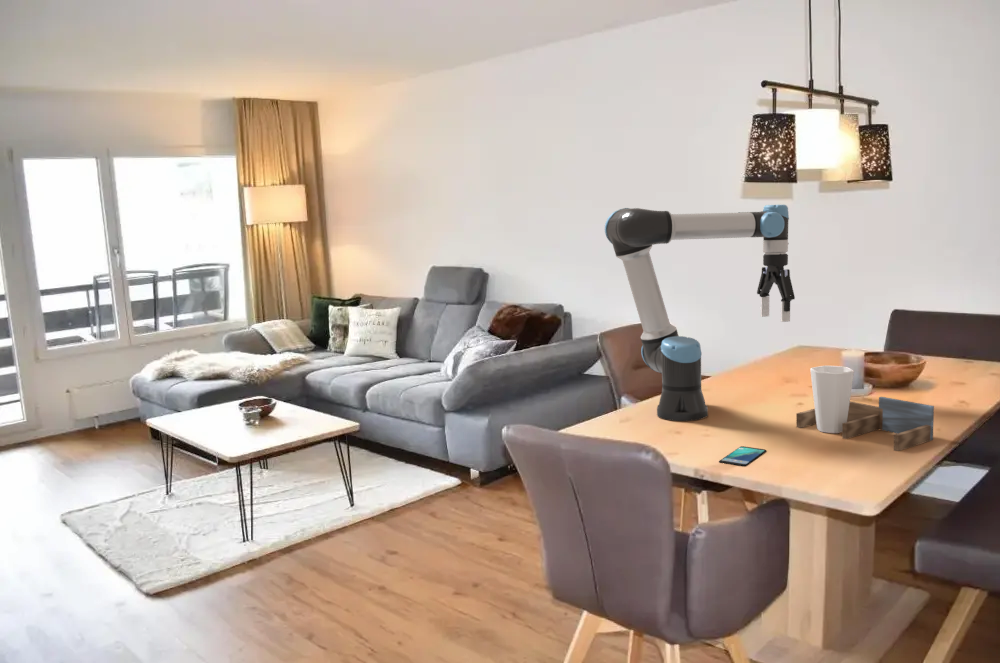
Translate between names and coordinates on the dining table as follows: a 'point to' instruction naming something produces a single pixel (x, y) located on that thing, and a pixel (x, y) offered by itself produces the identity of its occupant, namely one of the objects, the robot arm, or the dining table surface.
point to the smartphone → (742, 456)
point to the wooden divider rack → (884, 421)
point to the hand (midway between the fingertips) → (774, 319)
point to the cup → (831, 396)
